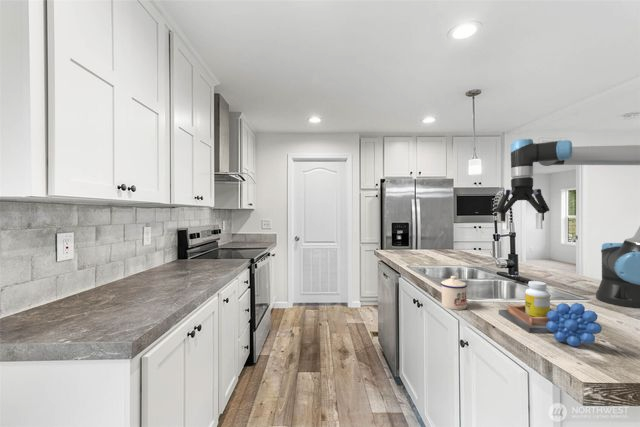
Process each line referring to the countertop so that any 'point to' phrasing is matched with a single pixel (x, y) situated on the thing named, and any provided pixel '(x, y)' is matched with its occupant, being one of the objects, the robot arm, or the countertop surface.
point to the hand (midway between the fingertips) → (522, 229)
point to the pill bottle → (537, 299)
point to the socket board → (525, 319)
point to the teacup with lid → (454, 294)
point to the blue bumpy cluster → (573, 324)
